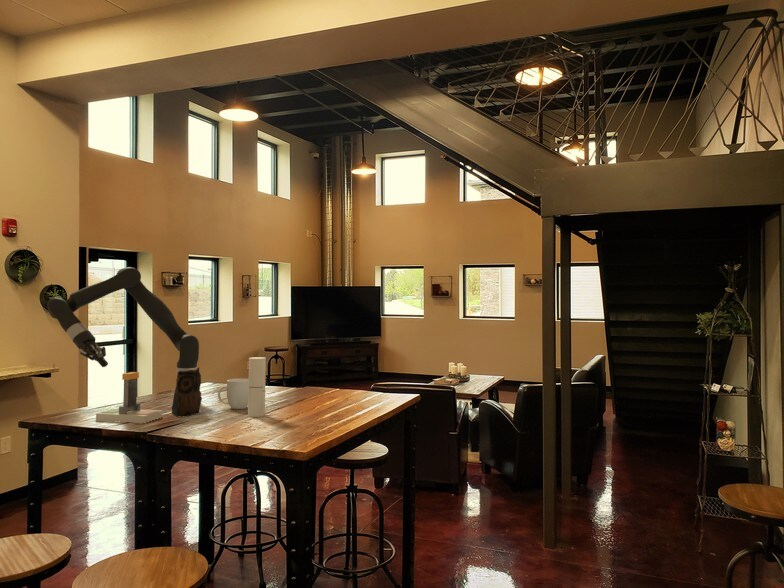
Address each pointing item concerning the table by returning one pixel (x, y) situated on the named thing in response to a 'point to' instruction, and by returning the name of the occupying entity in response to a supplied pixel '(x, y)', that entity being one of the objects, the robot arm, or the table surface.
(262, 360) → the white tall block
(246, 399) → the mug
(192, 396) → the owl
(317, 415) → the table surface
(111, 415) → the switch panel
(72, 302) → the robot arm
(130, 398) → the lever
